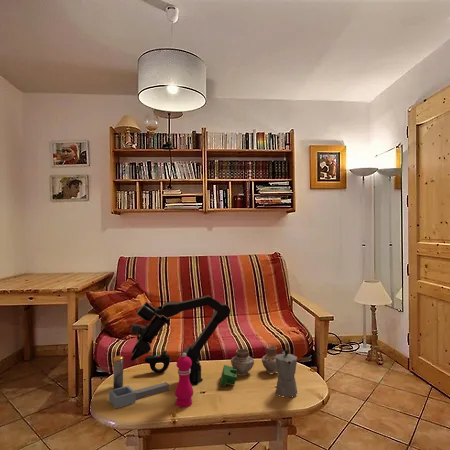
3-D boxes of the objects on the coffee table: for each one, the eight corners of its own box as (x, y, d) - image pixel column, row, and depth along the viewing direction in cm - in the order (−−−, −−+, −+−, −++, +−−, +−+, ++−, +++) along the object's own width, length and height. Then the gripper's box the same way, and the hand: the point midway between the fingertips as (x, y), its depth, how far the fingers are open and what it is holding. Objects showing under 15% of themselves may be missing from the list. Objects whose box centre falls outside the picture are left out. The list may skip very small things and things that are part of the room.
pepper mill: (176, 399, 143) (176, 349, 144) (194, 399, 143) (194, 349, 144) (173, 408, 136) (173, 355, 137) (192, 408, 136) (192, 356, 136)
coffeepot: (301, 400, 143) (301, 355, 143) (278, 400, 142) (278, 355, 143) (292, 384, 158) (292, 343, 159) (271, 384, 158) (271, 343, 158)
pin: (124, 386, 156) (125, 356, 156) (118, 390, 152) (118, 359, 152) (117, 384, 157) (118, 355, 157) (111, 388, 154) (111, 358, 154)
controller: (170, 373, 170) (170, 352, 171) (144, 375, 168) (144, 354, 168) (170, 369, 175) (170, 349, 175) (144, 371, 172) (144, 351, 172)
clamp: (231, 395, 156) (236, 380, 153) (218, 392, 156) (223, 377, 153) (234, 375, 167) (238, 360, 164) (221, 372, 167) (226, 357, 164)
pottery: (284, 376, 167) (284, 350, 167) (232, 378, 164) (232, 352, 165) (278, 367, 178) (278, 343, 178) (229, 369, 176) (229, 345, 176)
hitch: (163, 385, 156) (163, 376, 156) (171, 392, 150) (171, 382, 150) (109, 400, 142) (109, 390, 142) (115, 408, 136) (115, 397, 136)
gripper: (140, 312, 166) (119, 339, 164) (139, 321, 148) (114, 353, 145) (159, 325, 167) (138, 353, 165) (160, 337, 149) (136, 368, 147)
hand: (131, 356), depth 156 cm, fingers open, 9 cm apart
